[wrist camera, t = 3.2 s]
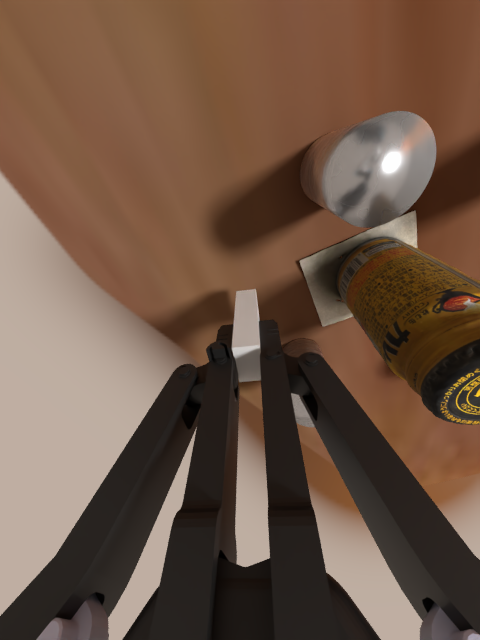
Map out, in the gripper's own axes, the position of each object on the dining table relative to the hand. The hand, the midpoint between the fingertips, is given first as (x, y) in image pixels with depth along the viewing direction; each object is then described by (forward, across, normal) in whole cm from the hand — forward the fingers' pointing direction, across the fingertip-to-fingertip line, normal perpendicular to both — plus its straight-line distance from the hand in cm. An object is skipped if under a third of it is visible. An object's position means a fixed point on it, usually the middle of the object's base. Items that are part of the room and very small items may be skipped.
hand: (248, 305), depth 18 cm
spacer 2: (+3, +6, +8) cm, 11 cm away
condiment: (+3, +10, 0) cm, 10 cm away
